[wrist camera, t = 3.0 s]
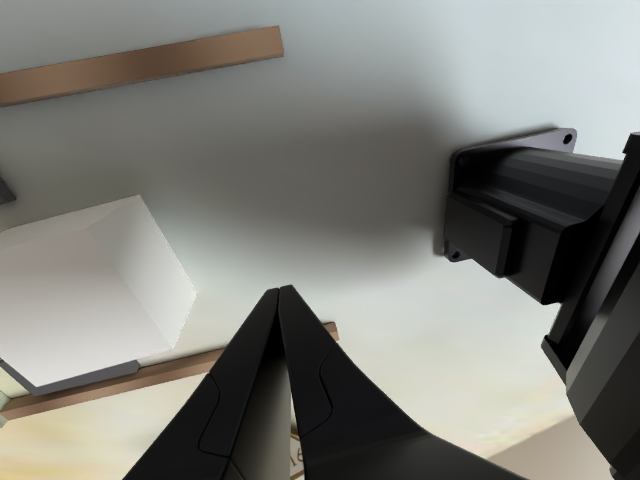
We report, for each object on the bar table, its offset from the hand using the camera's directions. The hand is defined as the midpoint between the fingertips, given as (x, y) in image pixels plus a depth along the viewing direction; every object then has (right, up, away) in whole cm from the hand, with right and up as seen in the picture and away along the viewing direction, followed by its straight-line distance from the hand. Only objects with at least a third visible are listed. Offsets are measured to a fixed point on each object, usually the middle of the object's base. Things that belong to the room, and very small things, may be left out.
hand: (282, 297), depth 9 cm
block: (-9, +1, +5) cm, 10 cm away
